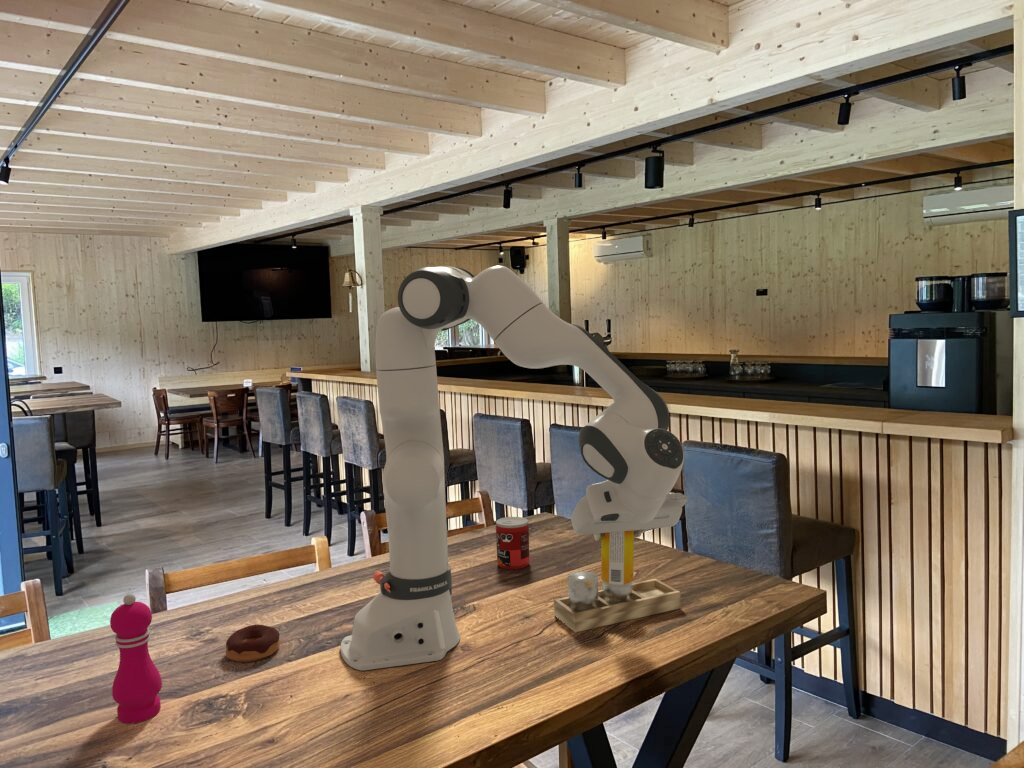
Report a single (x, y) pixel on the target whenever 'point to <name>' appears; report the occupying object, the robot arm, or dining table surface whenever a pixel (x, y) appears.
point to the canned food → (512, 542)
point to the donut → (252, 643)
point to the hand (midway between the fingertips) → (616, 535)
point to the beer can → (617, 558)
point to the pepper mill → (134, 663)
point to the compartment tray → (621, 606)
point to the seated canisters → (593, 592)
